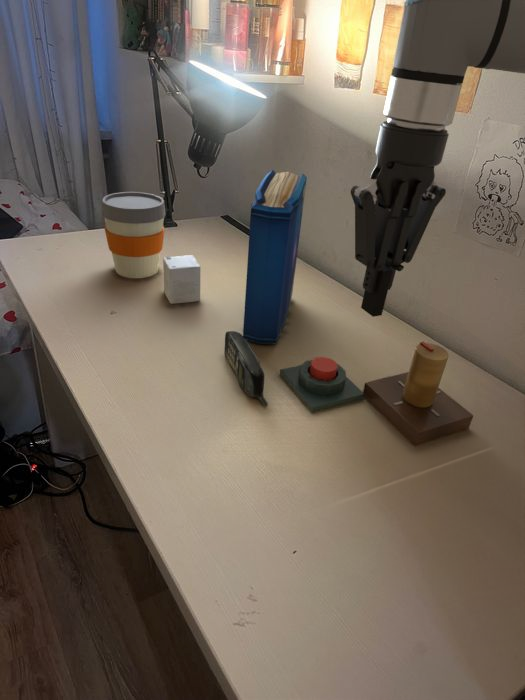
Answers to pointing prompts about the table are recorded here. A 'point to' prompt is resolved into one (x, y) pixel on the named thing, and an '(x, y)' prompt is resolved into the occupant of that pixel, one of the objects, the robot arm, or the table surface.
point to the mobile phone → (245, 365)
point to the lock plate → (416, 411)
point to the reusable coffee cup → (134, 232)
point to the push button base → (320, 388)
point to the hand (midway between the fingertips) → (371, 311)
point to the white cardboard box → (181, 279)
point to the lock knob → (425, 374)
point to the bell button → (323, 368)
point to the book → (272, 254)
